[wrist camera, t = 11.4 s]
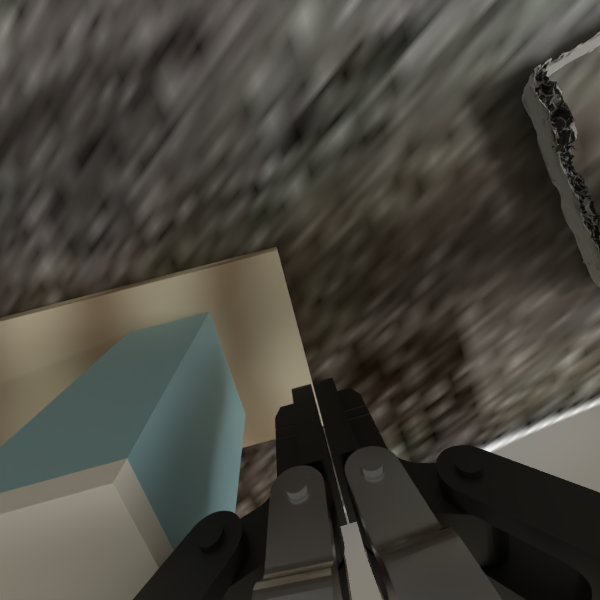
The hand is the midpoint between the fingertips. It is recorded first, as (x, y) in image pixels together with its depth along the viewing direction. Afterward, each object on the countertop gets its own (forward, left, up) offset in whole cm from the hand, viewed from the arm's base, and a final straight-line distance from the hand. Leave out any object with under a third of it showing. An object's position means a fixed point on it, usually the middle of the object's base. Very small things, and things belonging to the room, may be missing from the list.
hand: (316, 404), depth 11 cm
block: (+6, 0, -5) cm, 8 cm away
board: (+9, 0, -7) cm, 11 cm away
